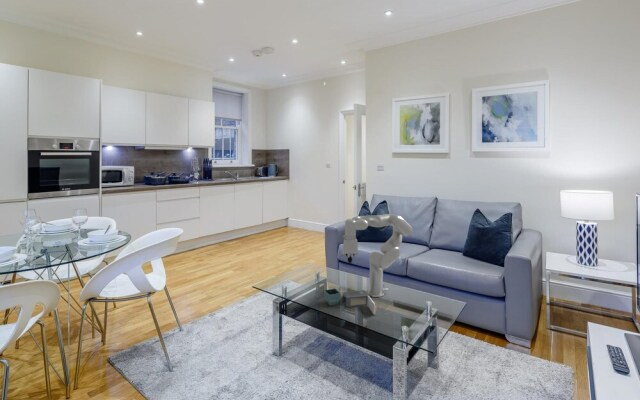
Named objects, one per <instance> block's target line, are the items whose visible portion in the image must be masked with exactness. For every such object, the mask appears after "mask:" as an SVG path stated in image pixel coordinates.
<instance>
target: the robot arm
mask: <svg viewBox="0 0 640 400" xmlns="http://www.w3.org/2000/svg"><path fill="white" fill-rule="evenodd" d="M388 226H392V235H391V236H390V238H389V239H387V240H386V241H385V242H384V243H383V244H382V246H381V247H380V252H378V251H372V252H371V253H370V254H369V256H368V262H369V281H368V282H369V283H368V285H369V286H368V288H369V289H368V290H367V291H366V293H367V294H368V295H369V297H373V298H380V297H384V295H385V292H389V288H388V287H387V288H386V287H383V282H384V281H383V277H384V276H383V275H384V270H386V269H388V268H389V267H391V266H392V264H393V263H394V262H395V261H397V260H398V258H399V257H400V255H401V249H400V247H399V246H400V245H401V244H402V242H403V236H404V237H410V236H411V235H413V232H414V231H413V227H412V225H410V223H408V222H407V220H405V219H404V218H403V217H402V216H400V215H398V214H394V213H385V214H378V215H373V214H372V215H359V216H355V217H353V218H352V219H351V218H350V219H349V218H348V219H346V220H345V221H344V235H342V238H344V239H343V243H342V253H341V254H342V255H343V256H345V257H347V262H348V264H352V262H353V257H354V256H356V255H359V253H358V251H359V247H358V239H357V235H356V234H357V230H358V231H363V230H366V229H368V227H373V228H383V227H388Z"/></svg>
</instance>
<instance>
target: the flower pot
mask: <svg viewBox="0 0 640 400" xmlns="http://www.w3.org/2000/svg"><path fill="white" fill-rule="evenodd" d="M323 293H324V294H323V295H324V299H325V301H326V302H327V304H328V305H329V306H330V307H331V306H336V305H338V304H339V302H340V299H341V292H340V291H339V290H338V289H337V288H330V289H325V290H324V291H323Z"/></svg>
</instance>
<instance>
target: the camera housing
mask: <svg viewBox="0 0 640 400" xmlns="http://www.w3.org/2000/svg"><path fill="white" fill-rule="evenodd" d="M368 296H369V295H368V294H367V291H365V290H364V289H362V290H354V291H353V290H351V291H343V292H342V297H341V303H342V304H343V305H344V306H345V308H353V307H354V308H355V307H356V308H357V307H364V306H367V301H368ZM369 297H370V296H369Z"/></svg>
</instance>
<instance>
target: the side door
mask: <svg viewBox="0 0 640 400" xmlns="http://www.w3.org/2000/svg"><path fill="white" fill-rule="evenodd" d="M366 306H367V307H368V308H369V310H370V311H371V312H372V315H376V312H378V306H376V303H375V302H374V301H373V299H372V298H371V296H368V301H367V305H366Z"/></svg>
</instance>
